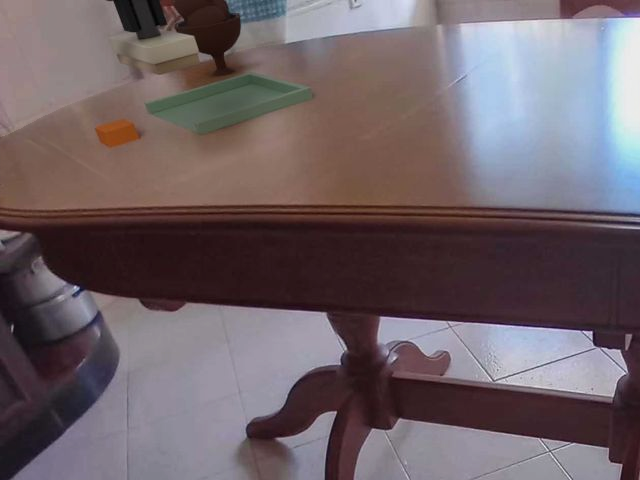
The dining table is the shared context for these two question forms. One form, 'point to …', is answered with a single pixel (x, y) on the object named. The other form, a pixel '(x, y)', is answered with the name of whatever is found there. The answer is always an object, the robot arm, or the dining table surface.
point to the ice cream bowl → (210, 28)
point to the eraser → (116, 133)
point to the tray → (228, 102)
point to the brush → (154, 44)
